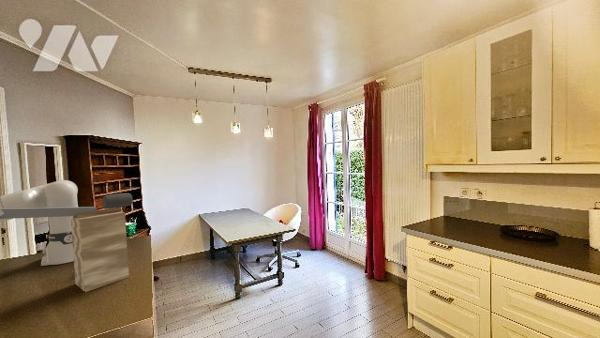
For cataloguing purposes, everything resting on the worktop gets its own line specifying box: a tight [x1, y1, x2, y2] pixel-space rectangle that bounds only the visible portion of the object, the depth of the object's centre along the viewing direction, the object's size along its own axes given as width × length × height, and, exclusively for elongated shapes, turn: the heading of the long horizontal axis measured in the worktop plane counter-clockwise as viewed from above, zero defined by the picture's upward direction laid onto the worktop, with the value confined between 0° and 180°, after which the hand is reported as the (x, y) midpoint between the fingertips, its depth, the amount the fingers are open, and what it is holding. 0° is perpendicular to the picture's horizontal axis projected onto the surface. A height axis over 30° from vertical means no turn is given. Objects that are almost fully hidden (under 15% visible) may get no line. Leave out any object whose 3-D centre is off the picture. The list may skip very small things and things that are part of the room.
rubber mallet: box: [102, 192, 133, 209], centre depth 143 cm, size 12×8×30 cm, turn 142°
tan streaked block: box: [71, 208, 130, 293], centre depth 103 cm, size 12×14×27 cm
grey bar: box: [0, 206, 97, 220], centre depth 91 cm, size 3×26×3 cm, turn 143°
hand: (1, 210), depth 83 cm, fingers closed on grey bar, 3 cm apart
